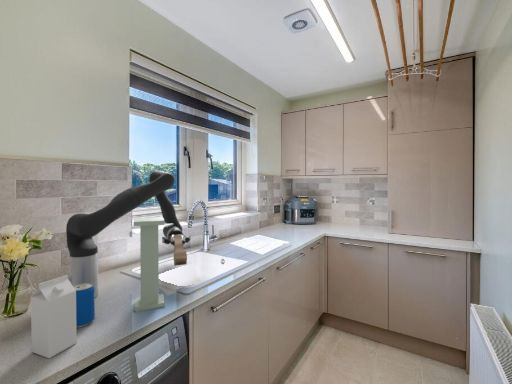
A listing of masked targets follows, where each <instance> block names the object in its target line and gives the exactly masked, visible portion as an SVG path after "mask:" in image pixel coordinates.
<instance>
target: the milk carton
mask: <svg viewBox="0 0 512 384" xmlns="http://www.w3.org/2000/svg"><path fill="white" fill-rule="evenodd" d="M68 277H69V275H68V274H66V275H63V276H59V277H56V278H53V279H50V280H46V281H43V282H41V283H40V282H39V283H38V288H37V289H36V290H35V291H34V293H33V294H32V295H31V296H30V316H31V317H30V319H31V322H30V323H31V324H30V325H31V326H30V327H31V352H32V353H34V354H36V355H38V356H42V357H43V358H46V359H51V358H53V357H54V356H56V355H57V354H59V353H61V352H63V351H65V350H66V349H69V348H70V347H72V346H74V345H75V344H77V327H76V290H75V288H74V287H73V286H72V284H71V283H70V281H69V280H68Z"/></svg>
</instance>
